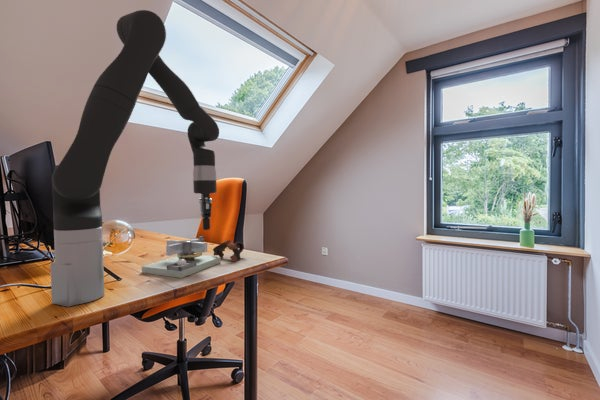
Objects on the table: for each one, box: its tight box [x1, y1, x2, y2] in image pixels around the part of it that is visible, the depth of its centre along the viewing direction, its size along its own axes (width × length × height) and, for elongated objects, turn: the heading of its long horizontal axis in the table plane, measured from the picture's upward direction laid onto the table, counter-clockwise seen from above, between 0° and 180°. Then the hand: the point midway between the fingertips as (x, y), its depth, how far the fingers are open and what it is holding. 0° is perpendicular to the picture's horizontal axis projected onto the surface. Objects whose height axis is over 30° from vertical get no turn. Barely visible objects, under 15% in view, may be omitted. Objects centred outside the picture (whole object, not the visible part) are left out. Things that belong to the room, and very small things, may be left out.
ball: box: [177, 259, 186, 266], centre depth 89 cm, size 3×3×3 cm
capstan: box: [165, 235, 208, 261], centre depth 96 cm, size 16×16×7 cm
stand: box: [141, 254, 221, 279], centre depth 96 cm, size 19×16×3 cm
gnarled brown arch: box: [212, 239, 245, 263], centre depth 109 cm, size 12×10×8 cm
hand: (206, 229), depth 99 cm, fingers closed
